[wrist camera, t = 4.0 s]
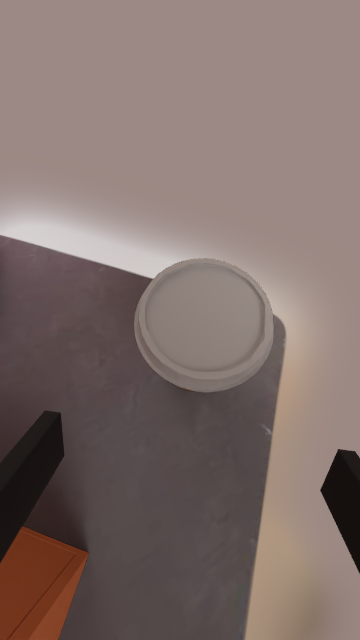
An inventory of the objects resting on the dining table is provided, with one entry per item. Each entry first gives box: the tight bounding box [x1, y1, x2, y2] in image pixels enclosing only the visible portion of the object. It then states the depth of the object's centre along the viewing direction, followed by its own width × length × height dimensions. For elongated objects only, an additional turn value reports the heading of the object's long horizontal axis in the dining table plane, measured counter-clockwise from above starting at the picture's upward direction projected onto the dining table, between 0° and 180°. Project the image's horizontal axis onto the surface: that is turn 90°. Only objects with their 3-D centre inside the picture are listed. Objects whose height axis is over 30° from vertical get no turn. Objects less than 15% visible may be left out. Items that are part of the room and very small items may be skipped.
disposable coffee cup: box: [134, 258, 274, 392], centre depth 21 cm, size 10×10×12 cm
